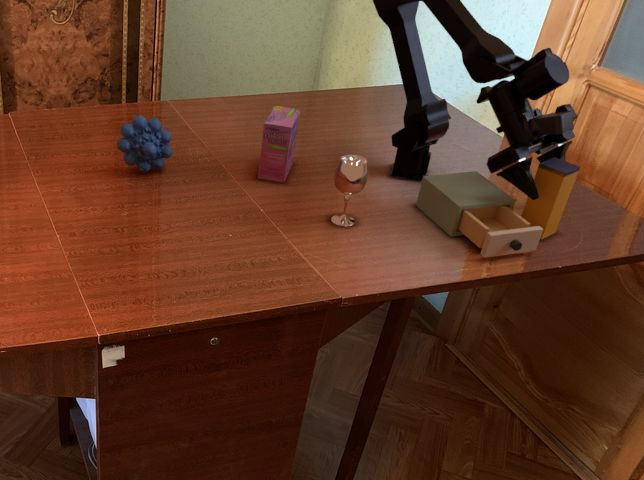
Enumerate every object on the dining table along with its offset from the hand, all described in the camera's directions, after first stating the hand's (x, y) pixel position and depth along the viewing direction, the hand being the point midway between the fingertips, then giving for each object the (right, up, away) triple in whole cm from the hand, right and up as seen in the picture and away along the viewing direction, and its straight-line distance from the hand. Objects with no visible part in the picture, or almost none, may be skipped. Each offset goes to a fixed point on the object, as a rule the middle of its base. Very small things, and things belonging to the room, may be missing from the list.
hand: (550, 192), depth 135 cm
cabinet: (-13, -3, +8) cm, 16 cm away
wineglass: (-36, -4, +6) cm, 37 cm away
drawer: (-10, -8, 0) cm, 13 cm away
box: (-46, +9, +22) cm, 52 cm away
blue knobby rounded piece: (-73, +8, +20) cm, 76 cm away
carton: (0, -6, +5) cm, 8 cm away
